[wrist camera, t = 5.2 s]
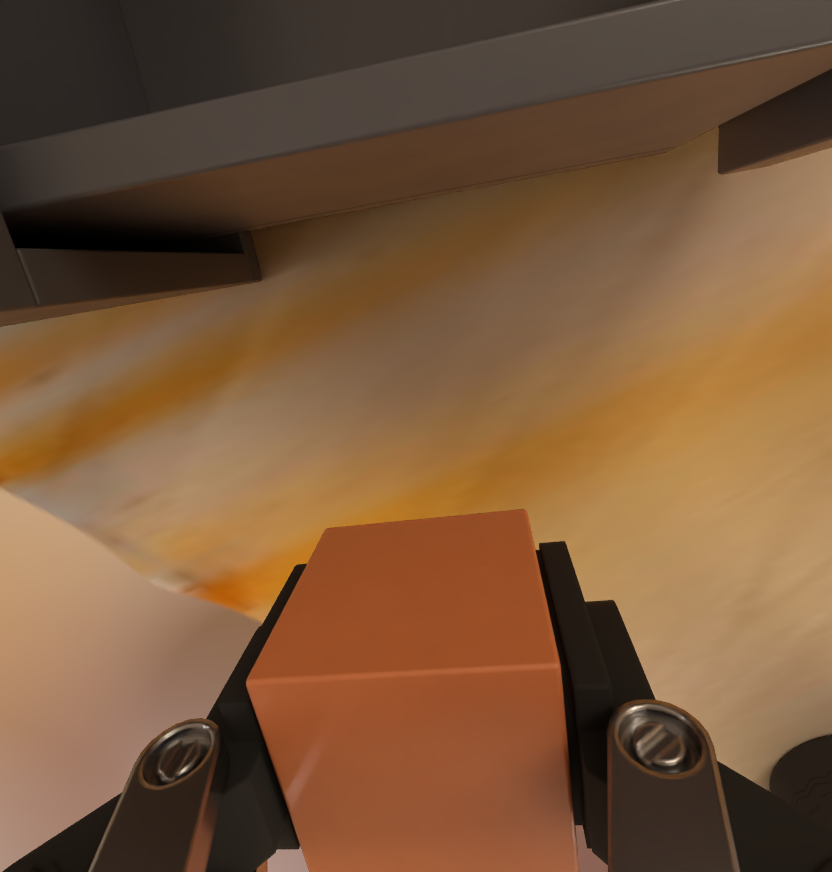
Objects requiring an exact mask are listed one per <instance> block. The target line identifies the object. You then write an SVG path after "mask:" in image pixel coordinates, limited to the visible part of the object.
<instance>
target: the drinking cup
mask: <svg viewBox="0 0 832 872" xmlns="http://www.w3.org/2000/svg"><path fill="white" fill-rule="evenodd" d="M770 792H771V793H772V794H774V795H776V796H777V797H779V798H781V799H782V800H784V801H786V802H788V803H789V804H791V805H793V806H794V807H796V808H798V809H799V810H801V811H803V812H804V813H806V814H808V815H809V816H811V817H813V818H815V819H816V820H818V821H820V822H821V823H823V824H825V825H826V826H828V827H830V828H831V829H832V735H831V736H825V737H821V738H817V739H814V740H811V741H809V742H806V743H804V744H802V745H800V746H798V747H797V748H795V749H794V750H792V751H791V752H789V753H788V754H787V755H786V756H785V757H784V758H782V760H781V761H780V762H779V763H778V764H777V766H776V767H775V769H774V771H773V773H772V776H771V780H770Z"/></svg>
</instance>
